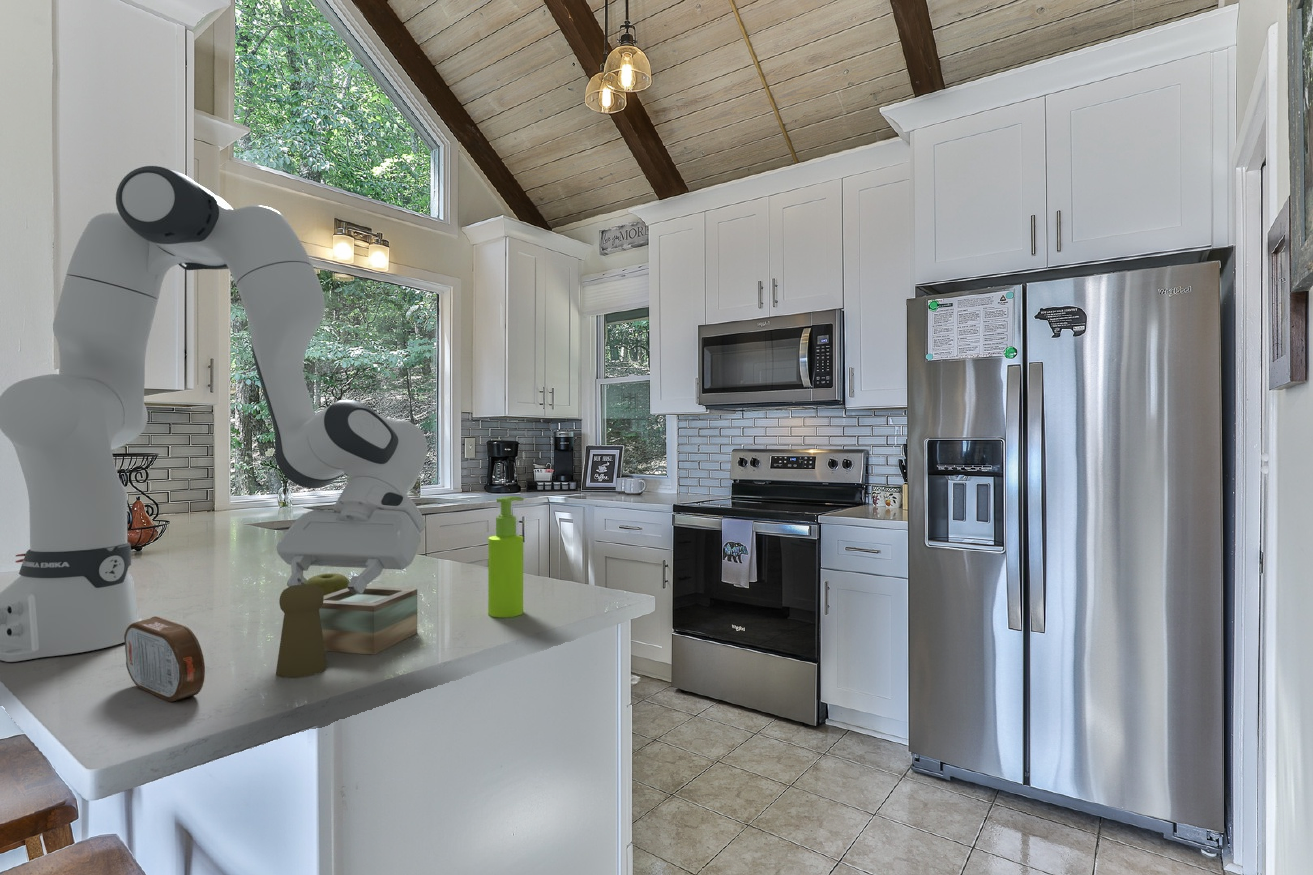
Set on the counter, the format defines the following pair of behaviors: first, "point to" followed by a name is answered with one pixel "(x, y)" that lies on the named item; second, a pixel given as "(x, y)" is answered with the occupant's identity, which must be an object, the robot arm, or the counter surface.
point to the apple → (329, 582)
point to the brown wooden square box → (368, 619)
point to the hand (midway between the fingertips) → (323, 589)
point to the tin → (164, 658)
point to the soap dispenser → (505, 565)
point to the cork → (301, 632)
